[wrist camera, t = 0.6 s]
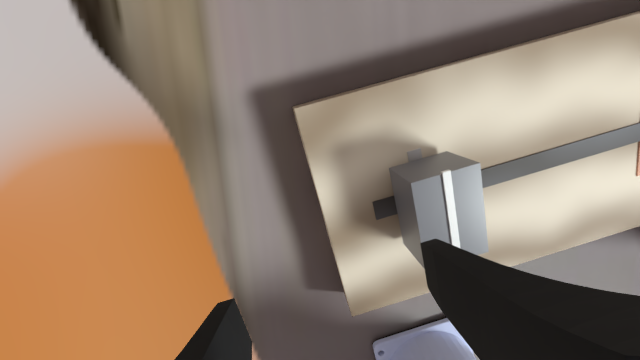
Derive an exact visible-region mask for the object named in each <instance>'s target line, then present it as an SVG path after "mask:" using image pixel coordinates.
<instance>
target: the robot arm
mask: <svg viewBox="0 0 640 360" xmlns="http://www.w3.org/2000/svg"><path fill="white" fill-rule="evenodd" d="M420 245H421V251H422V257H423V263H424V268H425V274H426V280H427V286H428V289H429V291H430V292H431V294H432V296H433V297H434V299H435V301H436V302H437V304H438V306H439V307H440V309H441V310H442V312H443V313H444V314H445V316H446V317H447V318H445V319H442V320H439V321H435V322H432V323H429V324H426V325H423V326H420V327H417V328H414V329H411V330H407V331H404V332H401V333H398V334H395V335H392V336H389V337H386V338H382V339H379V340H377V341H375V342H374V343H373V350H374V354H375V358H376V360H477V359H476V358H475V356H474V355H473V351H474V353H475V354H476V355H477V356H478V358H479V359H480V360H640V296H636V295H629V294H622V293H616V292H610V291H604V290H598V289H593V288H588V287H583V286H578V285H573V284H569V283H564V282H560V281H556V280H552V279H548V278H545V277H541V276H537V275H533V274H530V273H527V272H523V271H520V270H517V269H514V268H511V267H508V266H505V265H502V264H499V263H496V262H494V261H491V260H488V259H486V258H483V257H481V256H478V255H475V254H473V253H470V252H468V251H466V250H463V249H461V248H458V247H456V246H454V245H451V244H449V243H446V242H444V241H441V240H438V239H436V238H435V239H432V240H429V241H425V242H422V243H420ZM379 351H380V352H379ZM175 360H252V341H251V338H250V336H249V334H248V331H247V329H246V326H245V324H244V321H243V319H242V316H241V314H240V311H239V309H238V307H237V304H236V302H235V299H234V298H233V299H230V300H227V301H223V302H220V303H218V304H217V305H216V306H215V307H214V309H213V310H212V311H211V312H210V314H209V315H208V316H207V318H206V319H205V321H204V322H203V323H202V325H201V326H200V328H199V329H198V330H197V331H196V333H195V334H194V335H193V337H192V338H191V339H190V341H189V342H188V343H187V345H186V346H185V347H184V349H183V350H182V351H181V352H180V354H179V355H178V356H177V357H176V359H175Z"/></svg>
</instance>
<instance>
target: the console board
mask: <svg viewBox="0 0 640 360" xmlns="http://www.w3.org/2000/svg"><path fill="white" fill-rule="evenodd" d="M292 108H293V112H294V115H295V119H296V123H297V126H298V130H299V133H300V137H301V140H302V144H303V148H304V151H305V155H306V158H307V162H308V165H309V169H310V172H311V176H312V180H313V183H314V187H315V190H316V194H317V197H318V201H319V204H320V208H321V212H322V215H323V219H324V222H325V226H326V229H327V233H328V236H329V240H330V244H331V247H332V251H333V254H334V258H335V261H336V265H337V269H338V272H339V276H340V279H341V283H342V286H343V290H344V293H345V296H346V299H347V303H348V306H349V309H350V312H351V315H352V317H353V316H356V315H359V314H362V313H366V312H369V311H372V310H375V309H378V308H381V307H385V306H388V305H391V304H394V303H397V302H400V301H404V300H407V299H410V298H413V297H416V296H420V295H423V294H426V293H429V292H430V291H429V289H428V286H427V280H426V274H425V269H424V268H423V267H422V266H421V264H420V263H419V262H418V261H417V259H416V258H415V257H414V256H413V255H412V253H411V252H410V251H409V250H408V249H407V247H406V246H405V245H404V244H403V239H402V234H401V229H400V223H399V218H398V213H397V208H396V203H395V198H394V193H393V188H392V182H391V177H390V172H389V168H391V167H394V166H397V165H401V164H404V163H408V162H411V161H415V160H418V159H421V158H425V157H428V156H432V155H435V154H439V153H442V152H445V151H448V152H451V153H454V154H456V155H459V156H462V157H465V158H468V159H471V160H474V161H476V162H479V163H480V166H481V176H482V187H483V197H484V208H485V218H486V229H487V239H488V250H489V252H486V253H483V254H480V255H478V256H481V257H483V258H486V259H488V260H491V261H494V262H496V263H499V264H502V265H505V266H508V267H512V266H515V265H518V264H521V263H524V262H527V261H531V260H534V259H537V258H540V257H543V256H546V255H550V254H553V253H556V252H559V251H562V250H565V249H569V248H572V247H575V246H578V245H581V244H585V243H588V242H591V241H594V240H597V239H600V238H604V237H607V236H610V235H613V234H616V233H619V232H623V231H626V230H629V229H632V228H635V227H638V226H640V11H637V12H633V13H630V14H626V15H622V16H619V17H615V18H612V19H608V20H604V21H601V22H597V23H594V24H590V25H586V26H583V27H579V28H575V29H572V30H568V31H565V32H561V33H557V34H554V35H550V36H546V37H543V38H539V39H536V40H532V41H528V42H525V43H521V44H517V45H514V46H510V47H507V48H503V49H499V50H496V51H492V52H488V53H485V54H481V55H478V56H474V57H470V58H467V59H463V60H459V61H456V62H452V63H449V64H445V65H441V66H438V67H434V68H430V69H427V70H423V71H420V72H416V73H412V74H409V75H405V76H401V77H398V78H394V79H391V80H387V81H383V82H380V83H376V84H372V85H369V86H365V87H362V88H358V89H354V90H351V91H347V92H343V93H340V94H336V95H333V96H329V97H325V98H322V99H318V100H314V101H311V102H307V103H304V104H300V105H296V106H293V107H292Z"/></svg>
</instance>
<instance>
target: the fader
mask: <svg viewBox="0 0 640 360" xmlns="http://www.w3.org/2000/svg"><path fill="white" fill-rule="evenodd" d="M389 172H390V177H391V182H392V188H393V193H394V198H395V203H396V208H397V213H398V218H399V223H400V229H401V234H402V239H403V244H404V245H405V246H406V247H407V249H408V250H409V251H410V252H411V253H412V255H413V256H414V257H415V258H416V259H417V261H418V262H419V263H420V264H421V266H422V267H423V268H424V263H423V257H422V251H421V245H420V243H422V242H425V241H429V240H432V239H435V238H436V239H438V240H441V241H444V242H446V243H449V244H451V245H454V246H456V247H458V248H461V249H463V250H466V251H468V252H470V253H473V254H475V255H480V254H483V253H486V252H489V250H488V239H487V229H486V218H485V208H484V197H483V187H482V176H481V166H480V163H479V162H476V161H474V160H471V159H468V158H465V157H462V156H459V155H456V154H454V153H451V152H448V151H445V152H442V153H439V154H435V155H432V156H428V157H425V158H421V159H418V160H415V161H411V162H408V163H404V164H401V165H397V166H394V167H391V168H389ZM424 269H425V268H424Z"/></svg>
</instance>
